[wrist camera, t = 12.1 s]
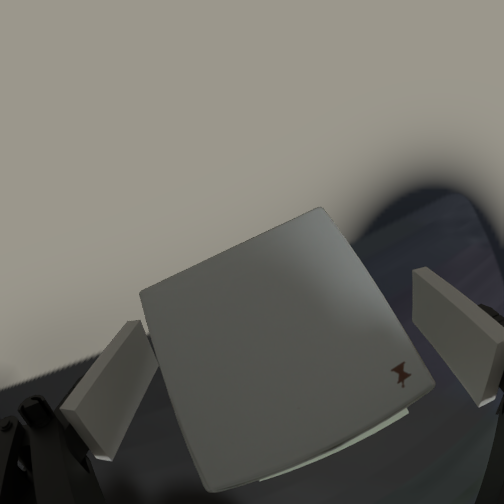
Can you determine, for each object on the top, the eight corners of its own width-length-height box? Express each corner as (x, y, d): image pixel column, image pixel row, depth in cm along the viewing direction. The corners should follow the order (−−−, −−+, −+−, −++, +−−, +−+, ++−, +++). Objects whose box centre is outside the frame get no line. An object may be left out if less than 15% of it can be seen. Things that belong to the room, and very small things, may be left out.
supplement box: (319, 310, 21) (327, 197, 10) (366, 400, 17) (446, 389, 7) (225, 353, 21) (133, 285, 10) (265, 447, 17) (205, 501, 6)
